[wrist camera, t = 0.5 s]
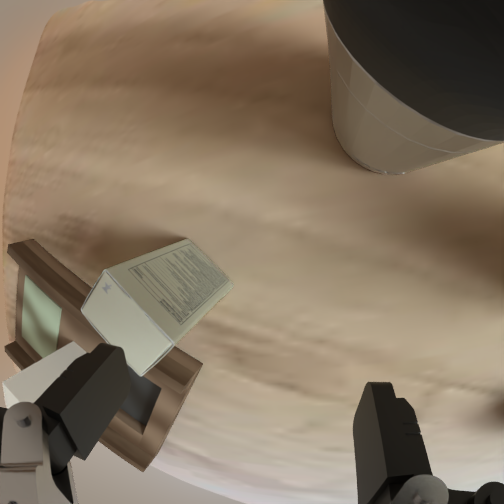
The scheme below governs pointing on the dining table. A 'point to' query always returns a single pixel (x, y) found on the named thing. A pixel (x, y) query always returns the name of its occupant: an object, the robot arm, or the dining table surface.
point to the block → (39, 375)
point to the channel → (84, 334)
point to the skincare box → (154, 301)
